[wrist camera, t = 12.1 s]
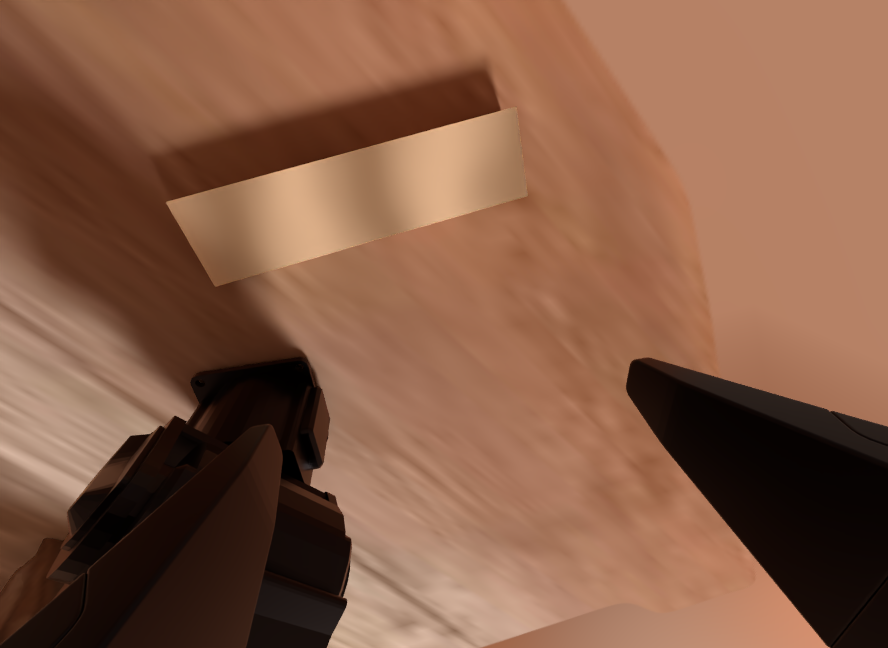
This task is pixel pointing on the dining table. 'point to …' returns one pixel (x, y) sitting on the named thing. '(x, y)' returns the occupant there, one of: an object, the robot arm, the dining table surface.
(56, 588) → the brown paper bag
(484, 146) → the slat
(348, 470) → the dining table surface
